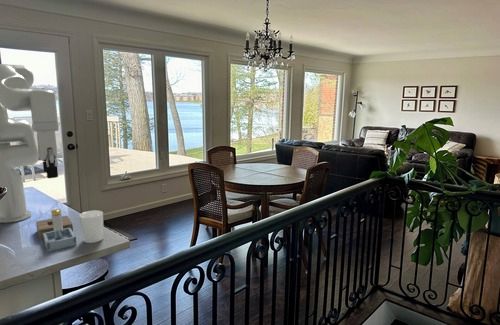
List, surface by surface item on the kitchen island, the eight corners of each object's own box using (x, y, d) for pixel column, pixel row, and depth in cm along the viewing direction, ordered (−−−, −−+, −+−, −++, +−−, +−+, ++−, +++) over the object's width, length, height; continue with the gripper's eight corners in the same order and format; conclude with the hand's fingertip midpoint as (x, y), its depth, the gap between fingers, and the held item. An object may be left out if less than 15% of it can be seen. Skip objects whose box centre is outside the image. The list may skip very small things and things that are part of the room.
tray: (43, 240, 124) (42, 233, 123) (71, 234, 129) (70, 227, 129) (47, 251, 115) (46, 243, 115) (76, 244, 121) (75, 237, 120)
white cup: (106, 241, 124) (104, 215, 122) (82, 245, 120) (79, 219, 118) (103, 233, 131) (101, 209, 129) (81, 237, 127) (78, 212, 125)
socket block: (37, 230, 133) (36, 221, 132) (68, 224, 139) (67, 215, 138) (40, 240, 124) (39, 230, 123) (73, 233, 131) (72, 223, 130)
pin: (54, 240, 122) (50, 210, 120) (63, 238, 124) (60, 208, 122) (55, 243, 120) (51, 212, 118) (65, 240, 122) (61, 210, 120)
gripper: (30, 124, 120) (36, 171, 124) (35, 129, 107) (41, 181, 110) (54, 123, 125) (59, 168, 128) (62, 128, 111) (66, 178, 115)
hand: (50, 174), depth 119 cm, fingers open, 9 cm apart
